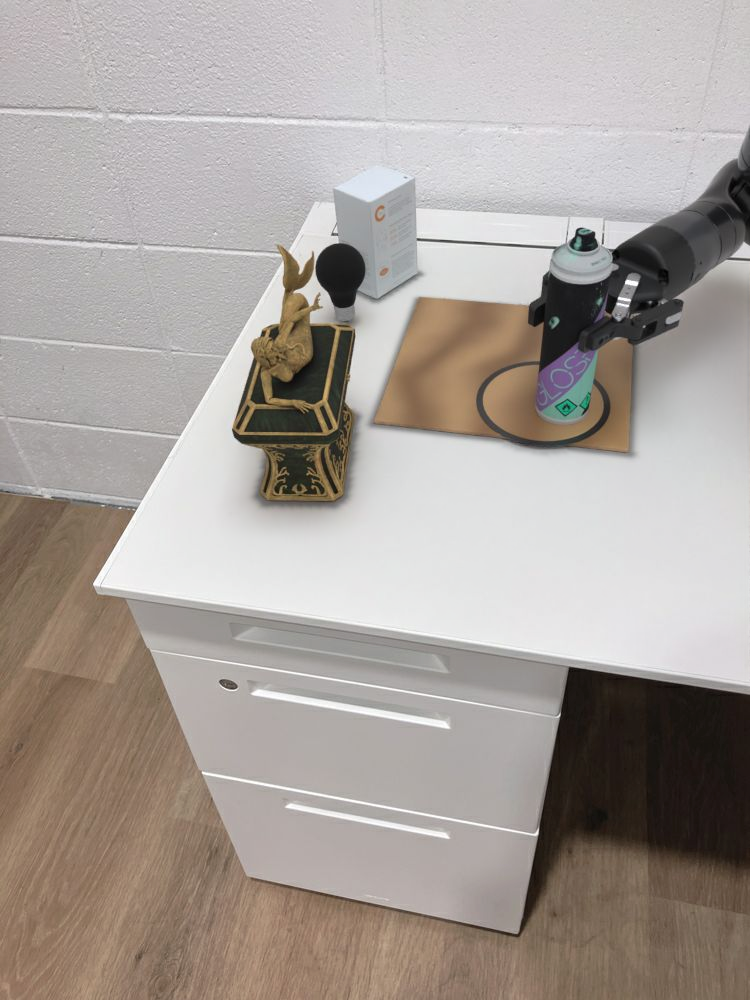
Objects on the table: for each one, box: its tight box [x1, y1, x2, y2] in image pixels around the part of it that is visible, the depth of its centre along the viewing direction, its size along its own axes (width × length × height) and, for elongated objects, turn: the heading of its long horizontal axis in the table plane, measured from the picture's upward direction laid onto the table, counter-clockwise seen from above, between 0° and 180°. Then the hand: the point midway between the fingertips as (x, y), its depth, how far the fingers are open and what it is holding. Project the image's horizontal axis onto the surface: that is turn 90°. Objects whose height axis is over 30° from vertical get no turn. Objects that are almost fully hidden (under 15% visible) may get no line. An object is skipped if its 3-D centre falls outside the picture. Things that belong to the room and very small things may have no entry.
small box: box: [332, 164, 419, 300], centre depth 100 cm, size 8×6×13 cm
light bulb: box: [314, 242, 366, 323], centre depth 95 cm, size 6×6×10 cm
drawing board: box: [373, 296, 635, 453], centre depth 90 cm, size 26×25×1 cm
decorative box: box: [231, 243, 356, 502], centre depth 76 cm, size 20×10×20 cm, turn 175°
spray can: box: [535, 227, 612, 425], centre depth 77 cm, size 6×6×20 cm
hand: (556, 330), depth 75 cm, fingers closed on spray can, 5 cm apart
